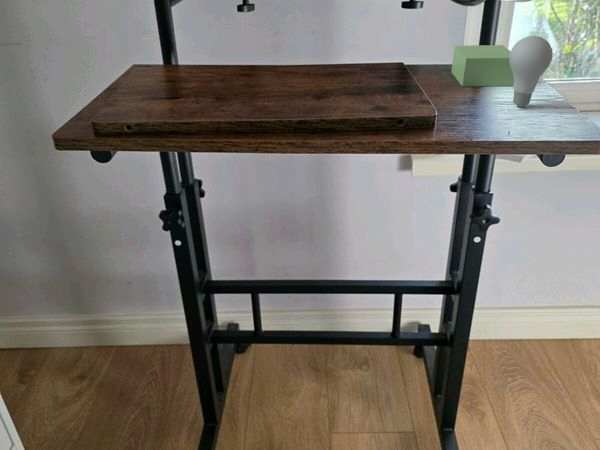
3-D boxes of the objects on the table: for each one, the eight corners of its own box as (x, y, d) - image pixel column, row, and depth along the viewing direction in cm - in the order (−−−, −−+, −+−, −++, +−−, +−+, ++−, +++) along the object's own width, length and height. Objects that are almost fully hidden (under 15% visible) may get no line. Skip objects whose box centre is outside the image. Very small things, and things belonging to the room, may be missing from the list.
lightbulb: (516, 98, 89) (529, 30, 84) (548, 108, 85) (565, 36, 79) (492, 105, 87) (504, 35, 81) (524, 116, 82) (540, 43, 76)
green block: (512, 86, 95) (518, 57, 92) (462, 86, 95) (466, 58, 93) (498, 71, 103) (502, 45, 100) (451, 72, 103) (454, 45, 100)
